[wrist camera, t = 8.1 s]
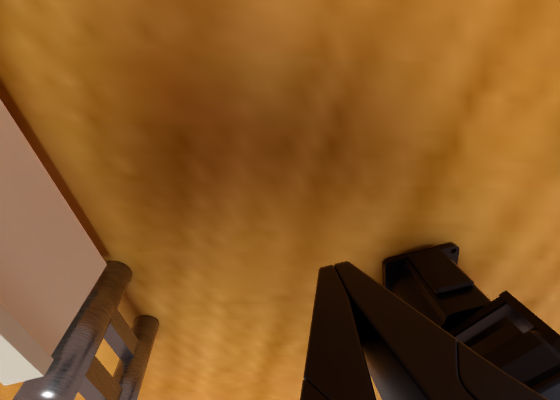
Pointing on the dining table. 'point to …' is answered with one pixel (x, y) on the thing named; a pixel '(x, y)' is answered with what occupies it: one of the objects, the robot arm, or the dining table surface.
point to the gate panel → (37, 260)
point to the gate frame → (85, 342)
